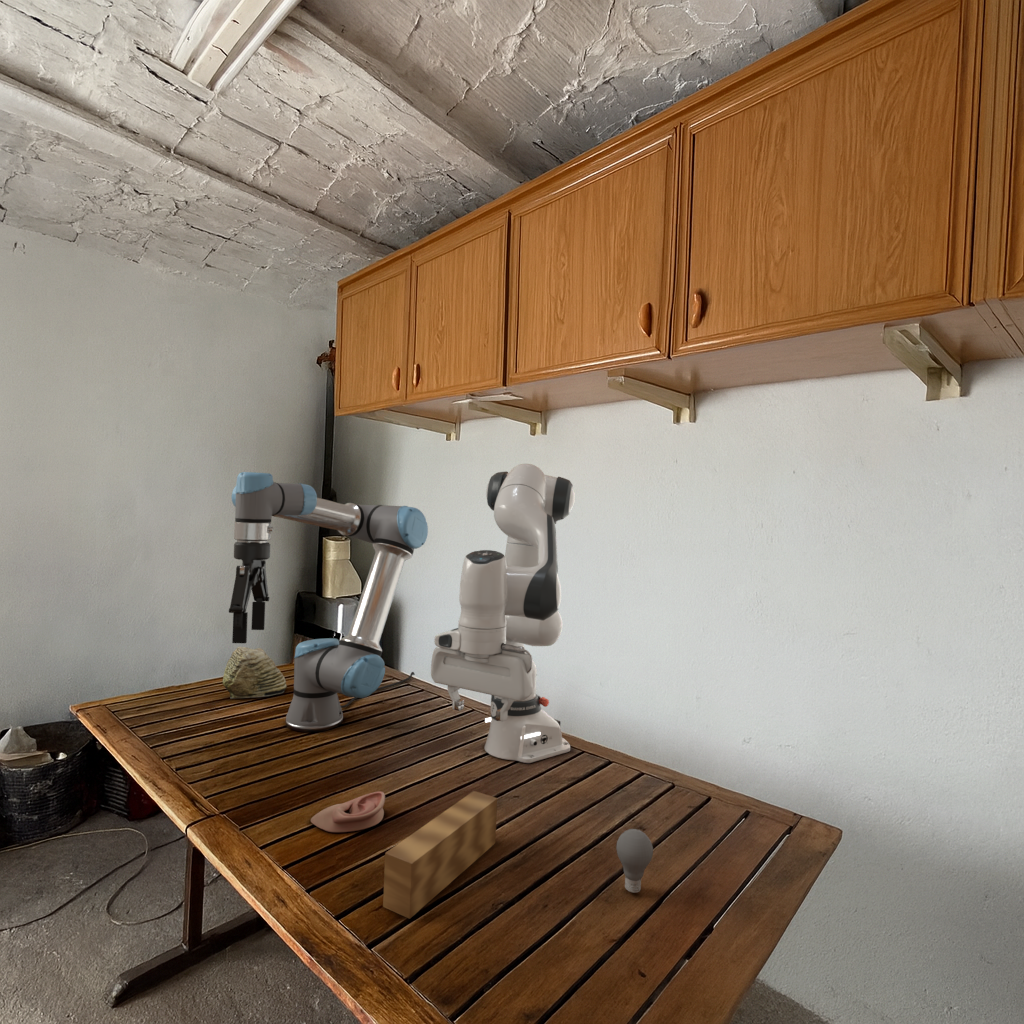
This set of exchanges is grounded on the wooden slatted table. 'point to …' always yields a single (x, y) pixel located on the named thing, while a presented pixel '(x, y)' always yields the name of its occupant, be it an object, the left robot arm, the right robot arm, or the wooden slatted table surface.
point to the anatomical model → (352, 814)
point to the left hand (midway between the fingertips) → (249, 636)
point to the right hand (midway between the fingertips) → (479, 714)
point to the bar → (438, 853)
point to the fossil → (252, 674)
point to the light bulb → (634, 857)
